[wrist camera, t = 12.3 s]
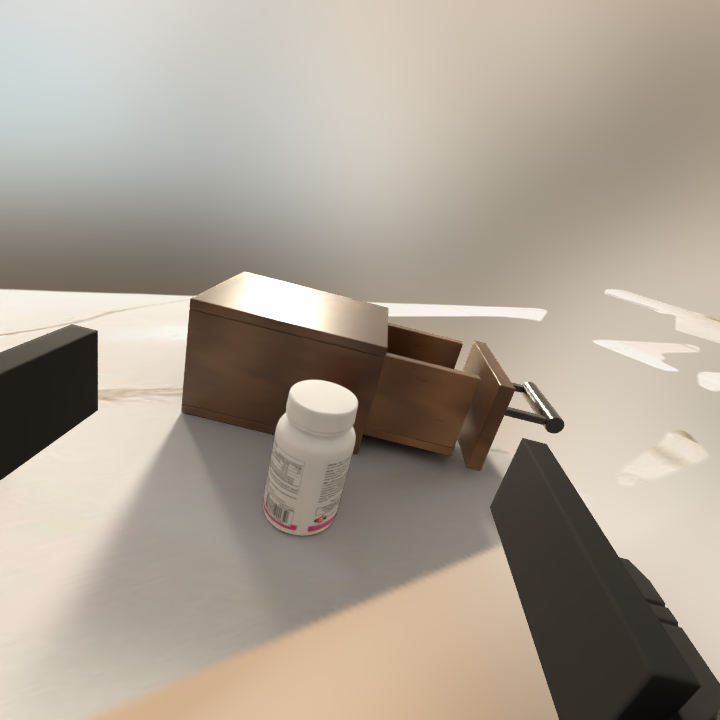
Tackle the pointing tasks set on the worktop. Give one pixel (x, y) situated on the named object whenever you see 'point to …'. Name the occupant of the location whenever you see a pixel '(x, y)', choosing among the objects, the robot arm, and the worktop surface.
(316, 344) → the cabinet
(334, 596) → the worktop surface
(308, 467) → the pill bottle
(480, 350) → the drawer
